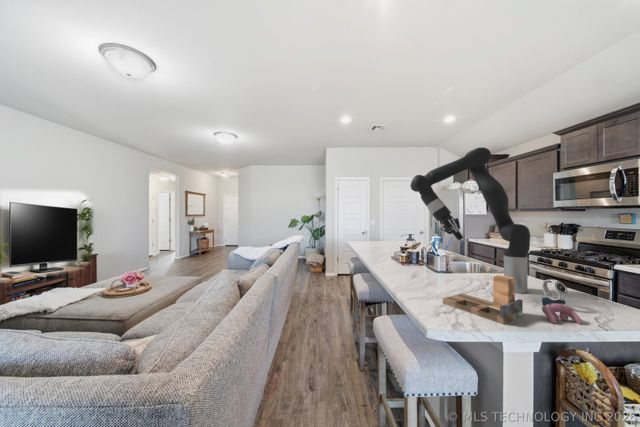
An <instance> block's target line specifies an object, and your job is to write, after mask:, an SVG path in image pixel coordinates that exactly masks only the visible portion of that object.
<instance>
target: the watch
mask: <svg viewBox="0 0 640 427" xmlns="http://www.w3.org/2000/svg"><path fill="white" fill-rule="evenodd" d="M550 282H551V285H552V289H553V291H555V293H556V294H557V296H558V297H555V296H553V295H552V293H551V291H550V289H549V286H548V283H550ZM541 288H542V292H543V294H544V296H545V297H542V298H541V301H542V302H541V304H542V306H545V305H547V304H552V303H557V304H563V305H566V300H564V299H565V298H566V296H567V293H568V288H567V286H566V285H565V284H564V283H563V282H561V281H559V280H556V279H545V280H543V282H542V284H541Z"/></svg>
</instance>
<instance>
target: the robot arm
mask: <svg viewBox="0 0 640 427" xmlns="http://www.w3.org/2000/svg"><path fill="white" fill-rule="evenodd" d="M491 159H492V153H491V150H489V149H488V148H486V147H481V146H480V147H477V148H474V149H472V150H469V151H468V152H467V153H465V155H464V156H462V157H461V158H459V159H457V160H454V161H451V162H449V163H446V164H443V165H441V166H438V167H437V168H434V169H431V170H429V171H428V172H427V173H426V174H425V175H422V174H417V175H415V176H414V177H413V178H412V179H411V182H410V190H412V191H414V192H416V193H417V192H418V193H419V194H420V198H421V201H422V202H423V203H424V205H425V206H426V207H427V209H428V211H429V213H431V215H432V217H433V218H434V220H436V222H439V223H440V225H441V226H440V228H439V230H441V231H442V232H445V233H447V234H449V235H451V234H452V235H453V236H454V237H455V238H456V240H458V241H461V240H463V239H464V236H463V234H462V233H461V232H460V230H461V226H460V221H459V218H457V217H456V218H454V217H453V216H452V215H451V214H452V211H451V210H450V209H449V208H448V206H446V204H445V203H444V201H443V200H442V199H441V198H439V196H438V194H437V193H436V192H435V191H434V190H433V187H432V186H433V185H434V184H438V183H440V182H442V181H445V180H447V179H449V178H451V177H453V176H455V175H457V174H459V173H462V172H464V171H466V170H469V172H470V174H471V175H472V177H473V178H474V180H475V182H476V184H477V187H478V189H479V190H480V192H481V195H482V197H483V199H484V201H485V202H486V204H487V207H488V208H489V210H490V213H491V215H492V217H493V219H494V222H495V225H496V227H497V229H498V232H499V234H500V237H502V239H503V240H504V241H506V242H508V247H507V248H505V249H504V250H503V276H507V277H512V278H515V294H516V293H517V294H527V293H528V290H529V289H528V278H529V277H528V254H529V252H530V248H531V246H530V245H531V233H530V230H529V227H528V226H526V225H524V224H519V223H518V224H517V223H515V222H514V221H513V219H512V217H511V216H510V212H509V197H508V194H507V192H506V190H505V188H504V186H503V185H502V184H501V183H500V182H499V181H498V180H497V179H496V178H495V177H494V176H492V175H491V173H490V172H489V170H488V168H487V166H486V164H488V163H489V162H490V160H491Z"/></svg>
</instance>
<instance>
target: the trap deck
mask: <svg viewBox="0 0 640 427" xmlns="http://www.w3.org/2000/svg"><path fill="white" fill-rule="evenodd" d="M442 304H444V305H447V306H450V307H453V308H456V309H458V310H462V311H464V312H467V313H469V314H473V315H476V316H478V317H481V318H485V319H488V320H491V321H493V322H496V323H499V324H502V325H505V324H507V323H509V322H512V321H514V320H516V319H518V318H521V317H523V312H524V311H523V310H524V309H523V299H515V301H513V302H510V303H507V304H505V305H502V306H500V309H497V308H493V301H490V300H487V299H484V298H480V297H477V296H473V295H469V294H466V293H462V292H461V293H458V294H455V295H451V296H447V297H443V298H442Z"/></svg>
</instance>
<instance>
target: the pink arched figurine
mask: <svg viewBox="0 0 640 427" xmlns="http://www.w3.org/2000/svg"><path fill="white" fill-rule="evenodd" d="M541 310H542V313H543V314H544V315H545V317H546V318H547V319H548V320H549V322H551V323H552V324H557V321H559V320H562V321H564V320H566V321H568V320H569V318H570V319H571V320H572V321H573V322H575V323H576V324H578V323H579V324H578V325H581V324H582V318H581V317H580V316H579V315H578V314H577V313H576V311H575V310H574V309H573V308H572V307H570V305H568V304H565V305H563V304H557V303H552V304H547V305H545V306H544V305H542V306H541ZM557 313H559V315H558V314H557Z"/></svg>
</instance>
